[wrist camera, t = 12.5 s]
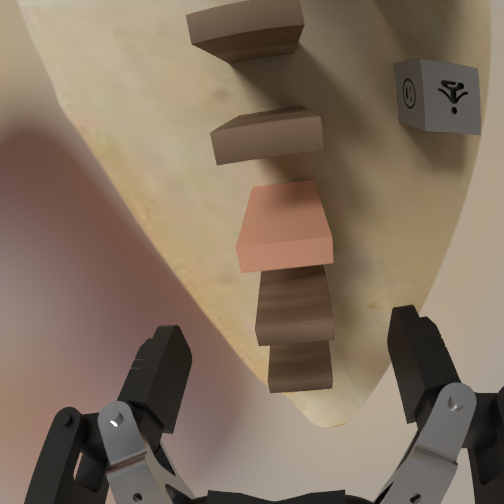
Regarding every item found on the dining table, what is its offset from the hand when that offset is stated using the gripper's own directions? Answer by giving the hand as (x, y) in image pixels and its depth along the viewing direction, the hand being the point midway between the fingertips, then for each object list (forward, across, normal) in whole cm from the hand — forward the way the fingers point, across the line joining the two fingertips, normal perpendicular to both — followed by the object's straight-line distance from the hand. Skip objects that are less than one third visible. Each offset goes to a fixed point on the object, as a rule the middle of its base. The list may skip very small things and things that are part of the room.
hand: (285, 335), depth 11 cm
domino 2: (+16, 0, -6) cm, 17 cm away
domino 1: (+16, 0, -12) cm, 20 cm away
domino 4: (+16, 0, +6) cm, 17 cm away
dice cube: (+16, -13, -7) cm, 22 cm away
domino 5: (+16, 0, +12) cm, 20 cm away
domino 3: (+16, 0, 0) cm, 16 cm away
